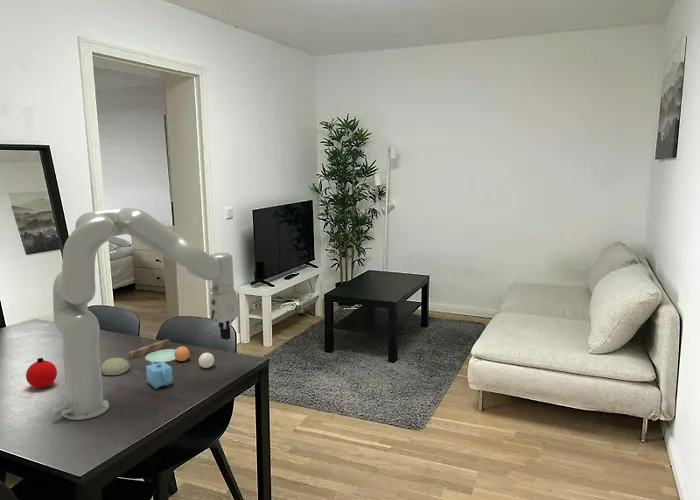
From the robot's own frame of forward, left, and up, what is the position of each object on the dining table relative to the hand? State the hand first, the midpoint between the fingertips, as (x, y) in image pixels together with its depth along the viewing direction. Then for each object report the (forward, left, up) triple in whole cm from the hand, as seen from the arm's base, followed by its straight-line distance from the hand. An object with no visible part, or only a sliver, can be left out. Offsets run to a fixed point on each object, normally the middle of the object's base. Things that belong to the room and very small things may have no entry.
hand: (225, 338), depth 188 cm
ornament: (-41, +44, -13) cm, 62 cm away
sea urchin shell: (-20, +35, -13) cm, 42 cm away
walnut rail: (0, +41, -13) cm, 43 cm away
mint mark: (0, +33, -13) cm, 35 cm away
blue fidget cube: (-19, +13, -13) cm, 27 cm away
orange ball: (0, +23, -10) cm, 25 cm away
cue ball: (0, +10, -10) cm, 14 cm away
